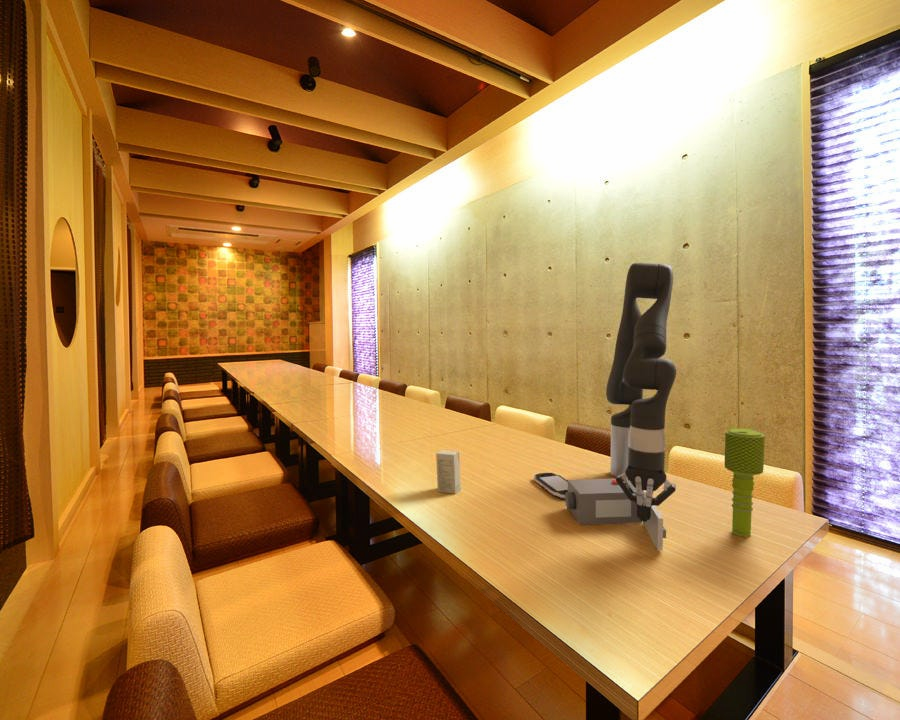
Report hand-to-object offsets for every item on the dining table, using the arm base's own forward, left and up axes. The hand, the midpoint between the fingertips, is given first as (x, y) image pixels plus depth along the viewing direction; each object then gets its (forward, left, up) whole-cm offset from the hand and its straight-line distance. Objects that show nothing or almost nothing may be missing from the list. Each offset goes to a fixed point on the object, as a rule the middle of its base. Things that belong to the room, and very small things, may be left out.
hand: (643, 520), depth 97 cm
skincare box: (+29, -48, -6) cm, 57 cm away
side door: (-4, -1, -5) cm, 7 cm away
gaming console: (-3, -37, -6) cm, 37 cm away
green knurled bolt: (-25, +6, -6) cm, 26 cm away
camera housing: (-2, -15, -6) cm, 17 cm away
